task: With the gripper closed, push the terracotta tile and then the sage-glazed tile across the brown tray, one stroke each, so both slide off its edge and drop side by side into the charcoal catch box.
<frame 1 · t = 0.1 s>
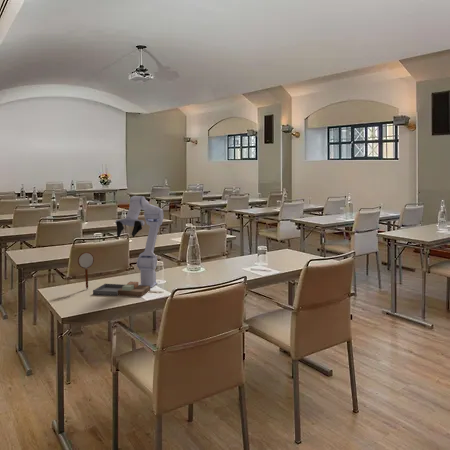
hand: (125, 235, 235), 32 cm above the table, tool tilted 50°, fingers open, 7 cm apart
terracotta tile: (132, 286, 255), point 2 cm above the table, touching brown tray
magnifying glass: (87, 289, 260), on the table
brown tray: (134, 292, 252), on the table
catch box: (110, 291, 255), on the table
sage tile: (128, 289, 249), point 2 cm above the table, touching brown tray
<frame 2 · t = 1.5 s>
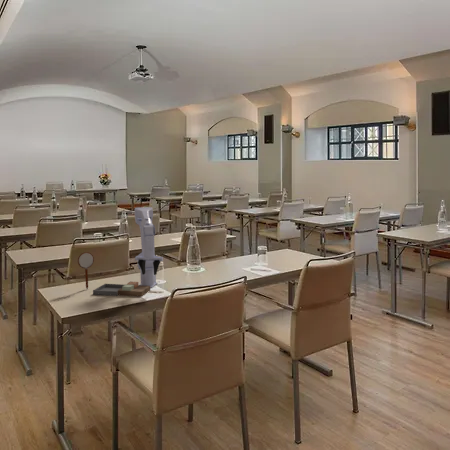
hand: (149, 274, 252), 9 cm above the table, tool pointing down, fingers open, 6 cm apart
nothing on the table moved.
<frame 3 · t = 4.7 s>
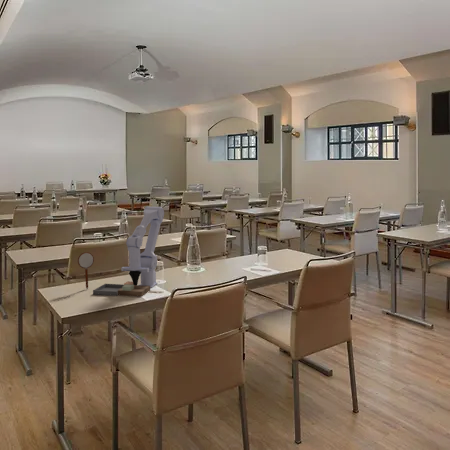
hand: (135, 284, 255), 3 cm above the table, tool pointing down, fingers closed
terracotta tile: (129, 286, 255), point 2 cm above the table, touching gripper, brown tray
everything else where it was.
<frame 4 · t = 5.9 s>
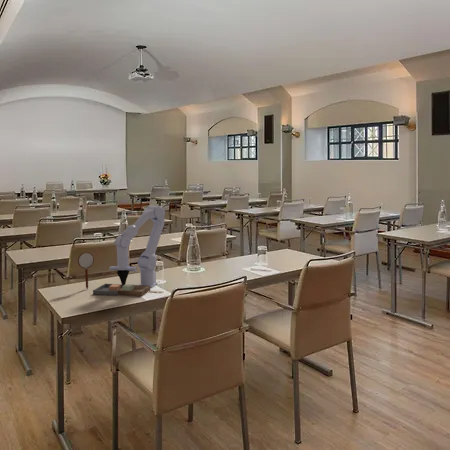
hand: (123, 284, 256), 3 cm above the table, tool pointing down, fingers closed
terracotta tile: (114, 285, 257), point 2 cm above the table, tilted 180°, touching catch box
everything else where it was.
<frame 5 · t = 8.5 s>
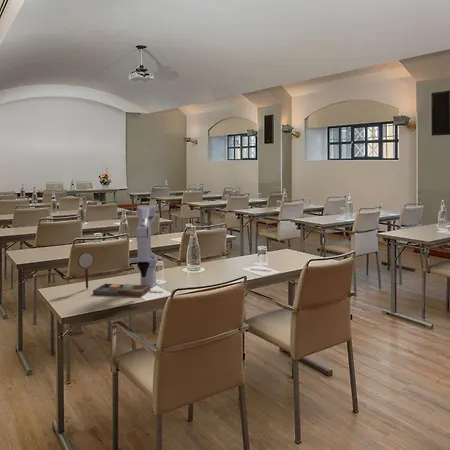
hand: (143, 276, 247), 9 cm above the table, tool pointing down, fingers closed
nothing on the table moved.
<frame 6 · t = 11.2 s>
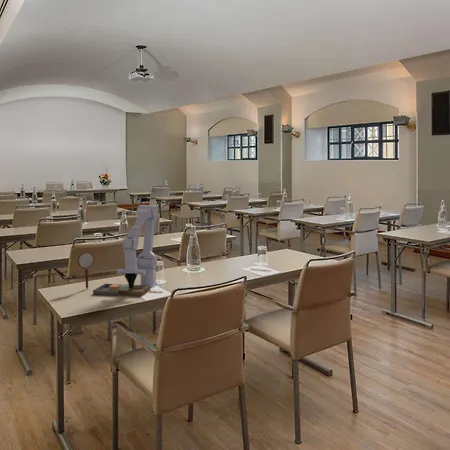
hand: (131, 287, 249), 3 cm above the table, tool pointing down, fingers closed
sage tile: (125, 289, 250), point 3 cm above the table, touching gripper
everything else where it was.
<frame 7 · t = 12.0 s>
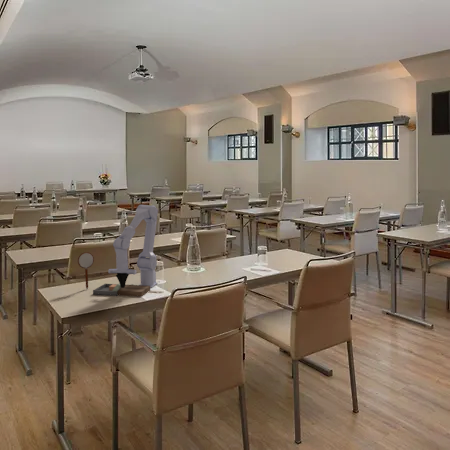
hand: (122, 287, 250), 3 cm above the table, tool pointing down, fingers closed, pressing on sage tile
sage tile: (118, 289, 250), point 2 cm above the table, tilted 51°, touching catch box, gripper
everything else where it was.
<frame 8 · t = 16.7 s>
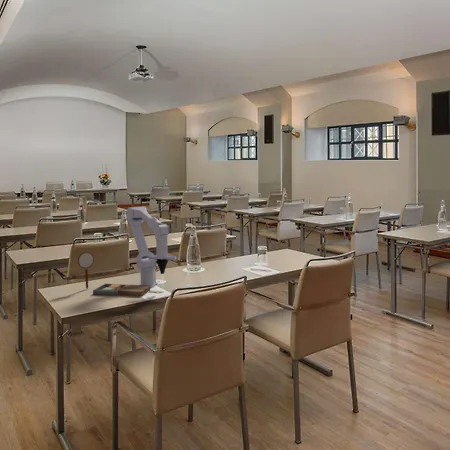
hand: (162, 273, 254), 9 cm above the table, tool pointing down, fingers closed
sage tile: (108, 288, 251), point 2 cm above the table, tilted 180°, touching catch box
everything else where it was.
at the end: terracotta tile inside the target area on the catch box (3.1 cm from its centre), point 2.5 cm above the catch box's base; sage tile inside the target area on the catch box (3.3 cm from its centre), point 2.5 cm above the catch box's base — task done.
